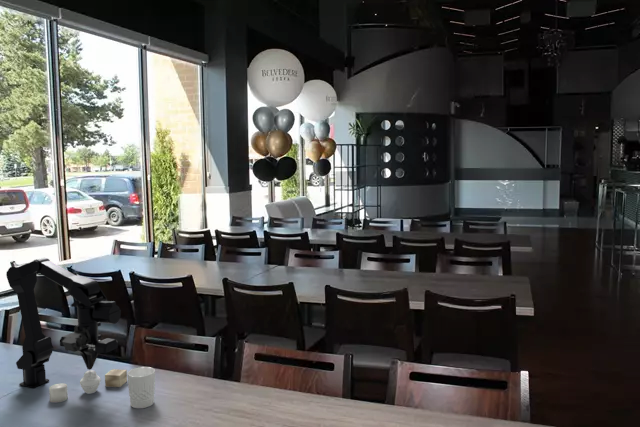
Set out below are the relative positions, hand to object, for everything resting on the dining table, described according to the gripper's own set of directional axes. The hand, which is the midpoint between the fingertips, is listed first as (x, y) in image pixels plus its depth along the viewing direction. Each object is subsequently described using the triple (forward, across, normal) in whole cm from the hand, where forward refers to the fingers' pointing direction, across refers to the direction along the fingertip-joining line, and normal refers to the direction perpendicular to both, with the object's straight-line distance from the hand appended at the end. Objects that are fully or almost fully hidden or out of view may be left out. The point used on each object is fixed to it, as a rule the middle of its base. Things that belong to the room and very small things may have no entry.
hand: (89, 369), depth 178 cm
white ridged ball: (+8, 0, 0) cm, 8 cm away
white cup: (+8, +21, -1) cm, 22 cm away
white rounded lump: (+7, -5, -8) cm, 12 cm away
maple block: (+8, +3, +8) cm, 11 cm away
